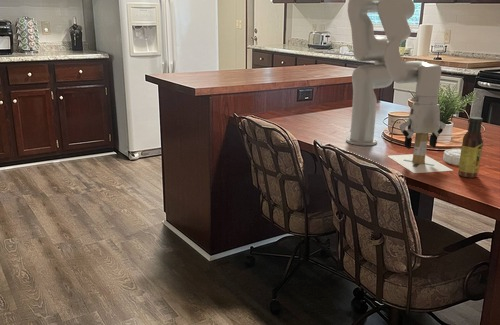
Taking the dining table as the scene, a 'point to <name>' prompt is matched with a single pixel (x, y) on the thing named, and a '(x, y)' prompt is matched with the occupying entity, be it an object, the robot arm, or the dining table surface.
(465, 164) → the sauce bottle
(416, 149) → the sprinkles bottle
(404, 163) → the letter sheet
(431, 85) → the robot arm
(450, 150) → the cheese wheel
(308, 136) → the dining table surface
